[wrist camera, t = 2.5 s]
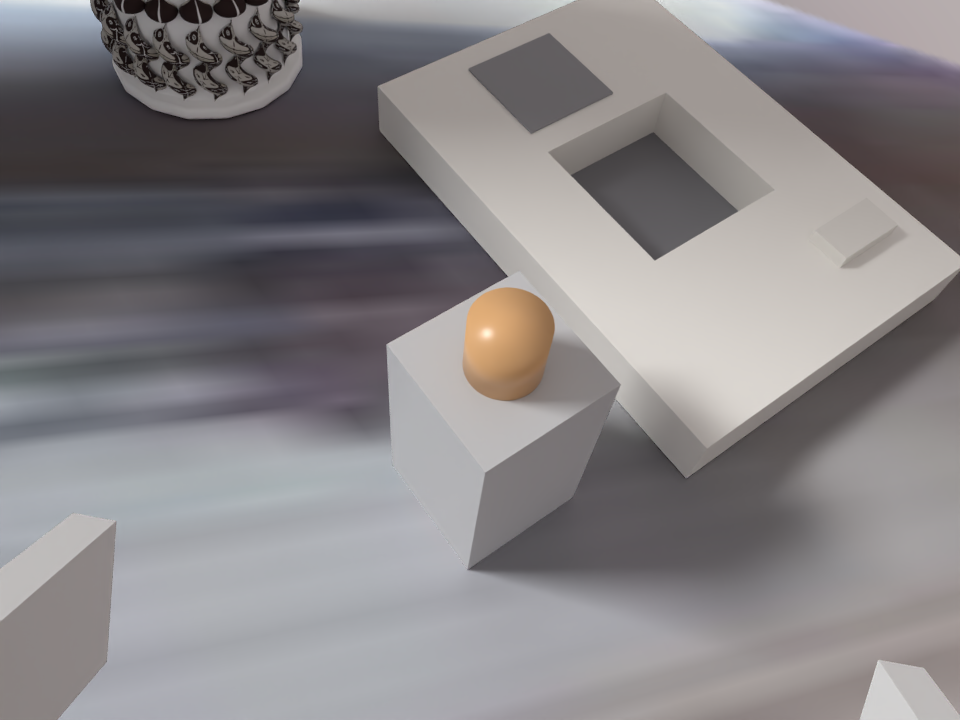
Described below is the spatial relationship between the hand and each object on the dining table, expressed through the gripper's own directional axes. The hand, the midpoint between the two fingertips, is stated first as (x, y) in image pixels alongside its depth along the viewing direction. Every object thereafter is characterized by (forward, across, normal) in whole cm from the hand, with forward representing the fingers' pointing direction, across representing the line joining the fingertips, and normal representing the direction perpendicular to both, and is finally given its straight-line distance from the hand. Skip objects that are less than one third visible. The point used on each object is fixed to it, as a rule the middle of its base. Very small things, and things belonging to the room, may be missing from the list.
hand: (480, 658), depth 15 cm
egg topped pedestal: (+15, 0, -3) cm, 15 cm away
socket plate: (+24, +4, +7) cm, 26 cm away
